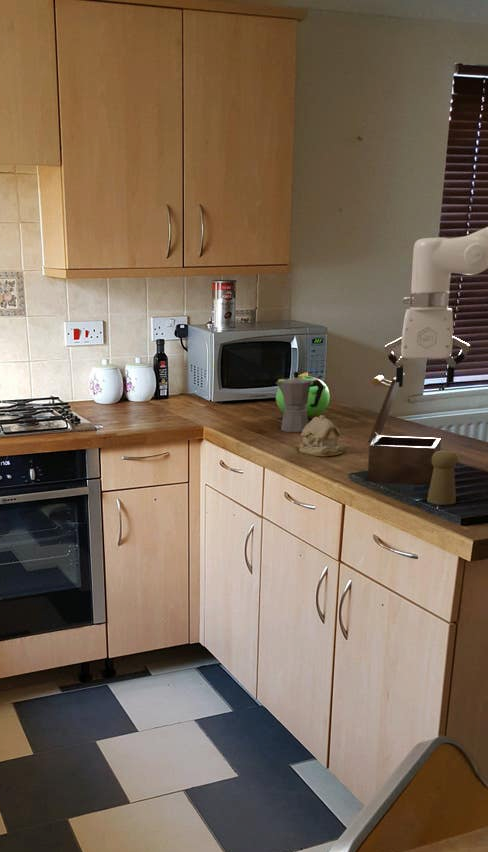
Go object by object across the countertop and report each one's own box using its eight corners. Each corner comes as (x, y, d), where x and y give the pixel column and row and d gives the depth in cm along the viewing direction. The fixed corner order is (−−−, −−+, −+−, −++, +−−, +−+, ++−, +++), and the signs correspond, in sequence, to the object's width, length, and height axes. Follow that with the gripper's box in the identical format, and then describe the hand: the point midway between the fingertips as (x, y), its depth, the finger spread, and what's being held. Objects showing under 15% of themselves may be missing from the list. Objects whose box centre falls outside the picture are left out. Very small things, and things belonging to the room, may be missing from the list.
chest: (438, 474, 211) (440, 438, 208) (431, 486, 200) (434, 448, 197) (377, 471, 216) (378, 435, 213) (367, 482, 205) (369, 445, 202)
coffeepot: (270, 431, 274) (270, 372, 268) (280, 426, 282) (281, 369, 276) (317, 434, 267) (319, 374, 261) (326, 429, 275) (328, 370, 269)
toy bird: (330, 414, 303) (331, 370, 298) (327, 422, 287) (328, 376, 283) (278, 413, 307) (278, 371, 302) (272, 421, 291) (273, 376, 287)
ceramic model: (290, 449, 245) (291, 413, 242) (324, 445, 249) (325, 410, 246) (319, 458, 233) (320, 420, 230) (353, 453, 237) (355, 416, 234)
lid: (404, 373, 206) (383, 365, 208) (396, 380, 195) (373, 371, 197) (380, 434, 213) (359, 426, 214) (370, 443, 202) (349, 435, 203)
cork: (447, 498, 189) (451, 447, 185) (461, 505, 183) (465, 453, 180) (421, 500, 188) (425, 449, 184) (434, 507, 182) (438, 455, 179)
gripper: (385, 303, 179) (381, 388, 185) (474, 301, 174) (467, 388, 180) (387, 302, 186) (383, 384, 191) (473, 300, 181) (466, 384, 186)
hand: (424, 386), depth 186 cm, fingers open, 9 cm apart
